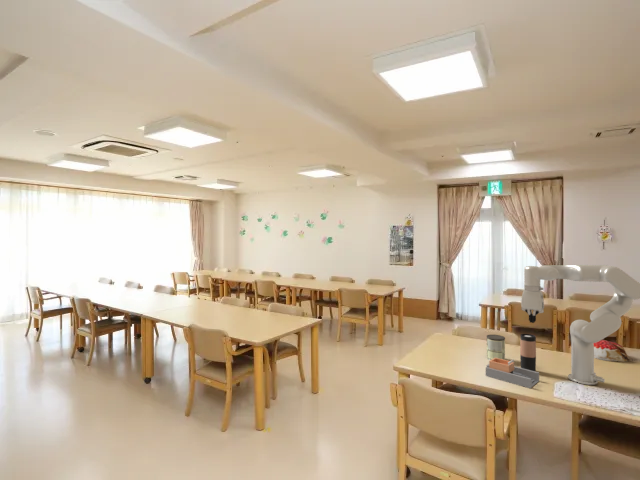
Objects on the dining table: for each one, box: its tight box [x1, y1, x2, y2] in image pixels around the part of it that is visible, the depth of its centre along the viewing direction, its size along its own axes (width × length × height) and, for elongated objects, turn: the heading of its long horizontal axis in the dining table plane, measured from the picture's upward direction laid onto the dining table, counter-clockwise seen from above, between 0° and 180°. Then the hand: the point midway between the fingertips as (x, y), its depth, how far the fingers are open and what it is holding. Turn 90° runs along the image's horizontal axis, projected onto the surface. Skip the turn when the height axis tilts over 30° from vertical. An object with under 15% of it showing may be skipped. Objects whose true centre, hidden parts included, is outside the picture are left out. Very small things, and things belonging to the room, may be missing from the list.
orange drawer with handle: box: [488, 358, 515, 374], centre depth 191 cm, size 10×8×8 cm
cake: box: [593, 339, 635, 363], centre depth 223 cm, size 23×24×10 cm
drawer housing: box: [485, 363, 540, 389], centre depth 189 cm, size 22×13×6 cm, turn 42°
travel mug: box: [519, 333, 537, 372], centre depth 200 cm, size 8×8×20 cm
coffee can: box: [486, 334, 506, 361], centre depth 218 cm, size 10×10×14 cm
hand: (532, 322), depth 192 cm, fingers closed
